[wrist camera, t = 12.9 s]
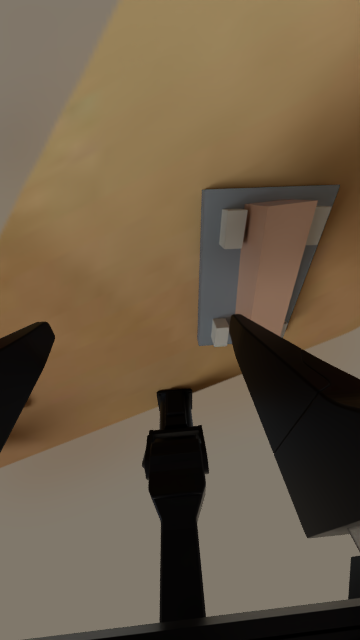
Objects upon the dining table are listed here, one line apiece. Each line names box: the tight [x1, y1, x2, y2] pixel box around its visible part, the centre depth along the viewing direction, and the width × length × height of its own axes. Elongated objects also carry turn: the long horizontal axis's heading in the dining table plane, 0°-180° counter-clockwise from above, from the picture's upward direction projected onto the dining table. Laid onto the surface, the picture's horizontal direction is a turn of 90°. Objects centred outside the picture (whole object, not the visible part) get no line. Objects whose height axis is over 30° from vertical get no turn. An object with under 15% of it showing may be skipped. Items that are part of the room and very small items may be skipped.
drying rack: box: [197, 185, 340, 347], centre depth 21 cm, size 18×12×4 cm, turn 2°
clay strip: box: [235, 199, 318, 336], centre depth 19 cm, size 16×4×4 cm, turn 6°
